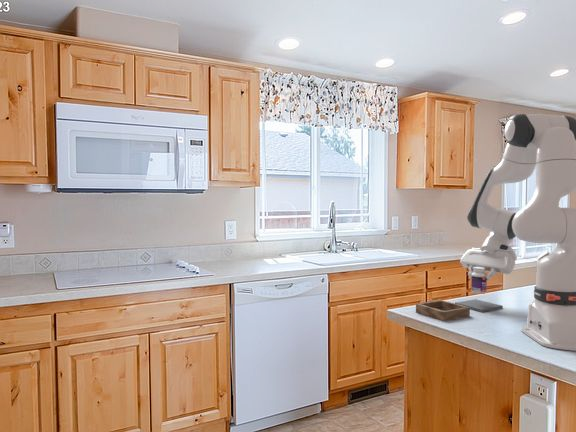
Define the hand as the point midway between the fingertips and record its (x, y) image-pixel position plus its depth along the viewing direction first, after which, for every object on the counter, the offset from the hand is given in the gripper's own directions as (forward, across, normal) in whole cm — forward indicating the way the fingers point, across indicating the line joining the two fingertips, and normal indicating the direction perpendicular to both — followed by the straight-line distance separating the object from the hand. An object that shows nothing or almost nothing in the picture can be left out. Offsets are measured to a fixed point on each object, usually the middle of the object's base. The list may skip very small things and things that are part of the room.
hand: (478, 277), depth 167 cm
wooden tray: (+22, -1, -6) cm, 23 cm away
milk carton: (-27, +1, +44) cm, 52 cm away
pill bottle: (+4, 0, +5) cm, 6 cm away
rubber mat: (+8, 0, +8) cm, 11 cm away
